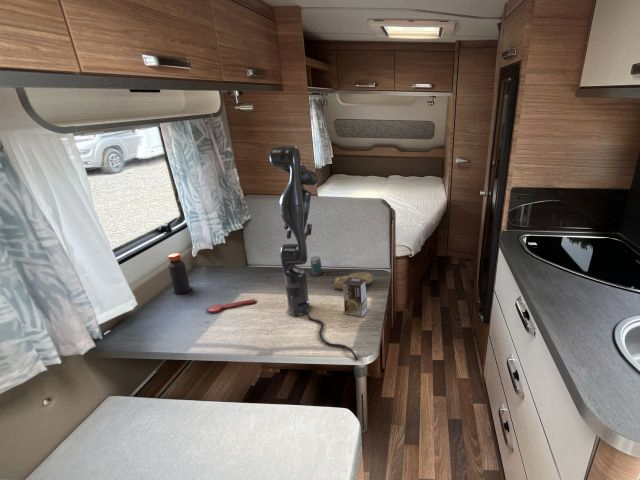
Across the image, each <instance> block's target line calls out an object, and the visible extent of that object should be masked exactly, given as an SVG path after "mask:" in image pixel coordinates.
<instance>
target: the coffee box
mask: <svg viewBox="0 0 640 480" xmlns="http://www.w3.org/2000/svg"><path fill="white" fill-rule="evenodd" d="M342 292H343V293H342V294H343V305H344V314H346V315H351V316H357V317H364V316H365V314H366V312H367V311H368V293H367V292H368V291H367V284H366V280H364V279H357V278H350V277H349V278H347V280H346V281H345V282H344V283H343V289H342Z"/></svg>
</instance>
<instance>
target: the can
mask: <svg viewBox="0 0 640 480" xmlns="http://www.w3.org/2000/svg"><path fill="white" fill-rule="evenodd" d="M321 258H322V257H321V256H319V255H314V256H313V255H312V256H311V257H310V268H311V269H310V270H311V275H312V276H313V277H319V276H321V275H322V274H323V272H322V259H321Z"/></svg>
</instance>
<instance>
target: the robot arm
mask: <svg viewBox="0 0 640 480" xmlns="http://www.w3.org/2000/svg"><path fill="white" fill-rule="evenodd" d="M269 161H270V163H271V165H272V166H273V167H274V168H276V169H279V170H280V171H283V172H286V173H287V174H289V180H288V183H287V185H286V187H285V188H284V190H283V191H282V194H281V195H280V198H279V211H280V217H281V219H282V220H283V222H284V227H283V230H285V231H286V239H287V240H290V239H291V238H292V234H293V236H294V237H295V240H296V243H285V244H283V245H282V246H281V247H280V252H279V253H280V255H279V256H280V261H281V266H282V273H283V276H284V283H285V291H286V298H287V307H288V313H289V314H290V315H292V316H293V317H298V316H302V315H306V316H307V317H308V319H309V320H310V321H312V322H316V323H319V324H321V327H320V329H319V333H318V334H319V338H320V340H321V341H322V342H323V343H324V344H326V345H328V346H332V347H333V346H334V347H342V348H345V349H346V350H348V351H349V352H350V353H351V354H352V356H353V357H354V359H355V361H358V360H359V359H358V356H357V355H356V353H355V351H353V349H352V348H350V347H349V346H347V345H345V344H339V343H331V342H328V341H326V340H325V339H324V338H323V336H322V330H323V328H324V323H323V322H322V321H321V320H318V319H314V318H312V317H311V316H310V313H309V312H310V310H311V308H310V307H311V306H310V300H309V289H308V281H307V280H308V279H307V271H306V270H305V269H304V268H302V267H300V265H301V266H302V265H306V264H307V262H308V258H309V257H308V255H309V253H308V245H307V237H308V236H311V235H312V229H313V224H312V223H307V221H308V219H309V213H310V209H311V208H310V206H311V205H310V204H311V198H312V191H310V190H309V189H307V188H305V186H309V187H314V186H316V185H317V184H318V183H319V177H318V174H317V173H316V172H315V171H313V170H312V169H309V168H308V167H307V166H306V165H305V164H303V163H302V162H301V153H300V149H299V147H298V146H296V145H274V146H272V147H271V148H270V150H269ZM360 398H361V399H360V400H361V425H362V431H365V413H364V411H365V410H364V392H362V393H361V397H360Z"/></svg>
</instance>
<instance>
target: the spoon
mask: <svg viewBox="0 0 640 480" xmlns="http://www.w3.org/2000/svg"><path fill="white" fill-rule="evenodd" d="M251 304H252V305H253V304H255V298H252V299H247V300H242V301H235V302H231V303H225V304H222V303H215V304H212V305H210V306H208V308H207V312H208V313H210V314H216V313H219V312H221V311H222V310H227V309H231V308H236V307H242V306H246V305H251Z"/></svg>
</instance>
